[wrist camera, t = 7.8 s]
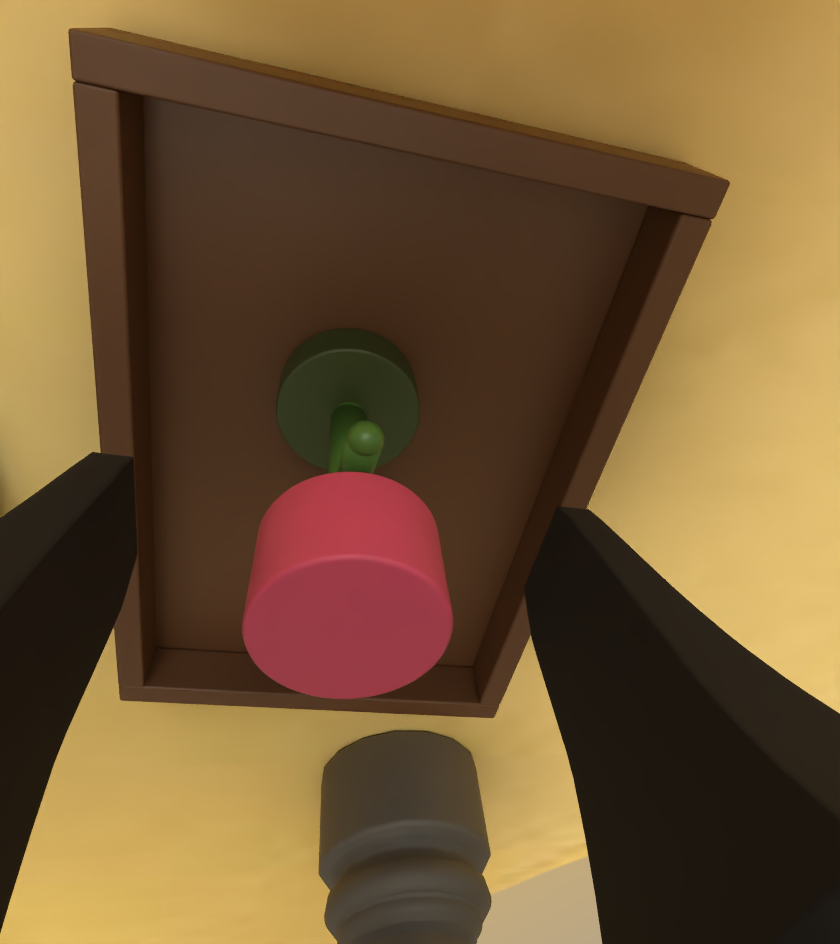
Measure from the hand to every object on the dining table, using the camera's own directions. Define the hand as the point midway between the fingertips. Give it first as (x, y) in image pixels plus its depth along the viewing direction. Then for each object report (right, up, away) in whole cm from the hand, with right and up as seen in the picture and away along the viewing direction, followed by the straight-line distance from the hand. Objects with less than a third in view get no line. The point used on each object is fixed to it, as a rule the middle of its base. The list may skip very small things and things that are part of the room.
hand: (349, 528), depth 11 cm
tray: (0, +1, +6) cm, 6 cm away
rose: (0, +3, +4) cm, 5 cm away
